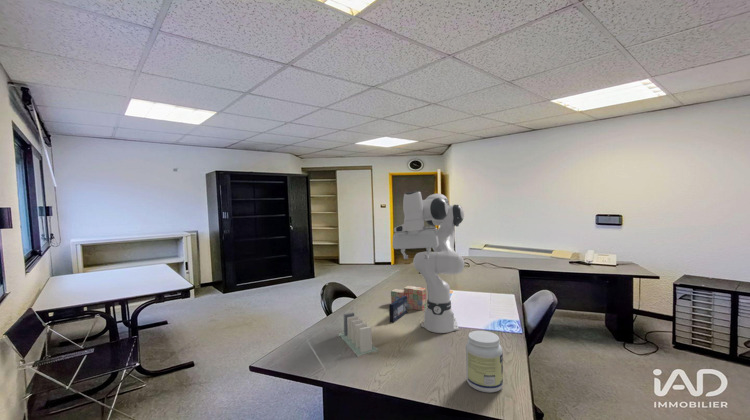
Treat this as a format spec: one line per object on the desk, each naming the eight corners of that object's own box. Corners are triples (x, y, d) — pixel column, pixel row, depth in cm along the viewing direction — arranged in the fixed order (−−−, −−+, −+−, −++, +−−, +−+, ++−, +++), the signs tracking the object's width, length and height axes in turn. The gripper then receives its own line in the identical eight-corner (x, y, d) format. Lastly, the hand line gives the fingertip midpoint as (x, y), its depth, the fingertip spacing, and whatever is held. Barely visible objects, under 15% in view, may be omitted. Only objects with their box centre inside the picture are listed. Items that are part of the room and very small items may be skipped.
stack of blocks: (391, 305, 200) (390, 286, 200) (395, 302, 205) (395, 283, 205) (422, 310, 189) (422, 290, 189) (426, 307, 194) (426, 287, 194)
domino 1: (344, 334, 155) (343, 314, 155) (353, 332, 157) (353, 312, 157) (345, 335, 154) (344, 315, 154) (354, 333, 156) (354, 313, 156)
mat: (338, 335, 156) (338, 334, 156) (356, 331, 160) (356, 330, 160) (357, 356, 133) (357, 355, 133) (378, 351, 138) (378, 350, 138)
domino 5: (359, 351, 137) (359, 328, 137) (370, 348, 139) (369, 326, 139) (361, 352, 136) (360, 329, 136) (371, 350, 138) (371, 327, 138)
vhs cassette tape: (393, 323, 170) (392, 305, 170) (388, 322, 171) (388, 304, 171) (408, 313, 185) (407, 296, 185) (403, 312, 187) (403, 295, 187)
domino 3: (351, 342, 146) (351, 320, 146) (361, 340, 148) (361, 319, 148) (352, 343, 145) (352, 322, 145) (362, 341, 147) (362, 320, 147)
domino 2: (347, 338, 151) (347, 317, 151) (357, 336, 153) (356, 315, 153) (348, 339, 149) (348, 318, 149) (358, 337, 152) (358, 316, 151)
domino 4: (355, 346, 142) (355, 324, 142) (365, 344, 144) (365, 322, 144) (357, 348, 140) (356, 325, 140) (367, 345, 142) (366, 323, 142)
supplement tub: (509, 393, 105) (508, 343, 105) (472, 394, 105) (471, 344, 105) (495, 374, 117) (494, 328, 117) (462, 374, 117) (461, 329, 117)
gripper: (439, 226, 138) (441, 258, 136) (395, 229, 146) (397, 259, 145) (435, 225, 132) (437, 258, 130) (390, 228, 141) (392, 259, 139)
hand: (416, 259), depth 138 cm, fingers open, 8 cm apart
